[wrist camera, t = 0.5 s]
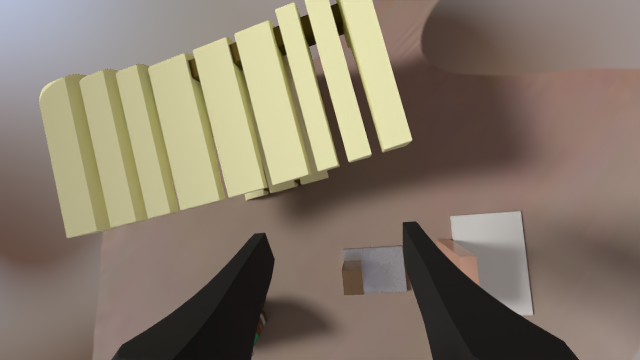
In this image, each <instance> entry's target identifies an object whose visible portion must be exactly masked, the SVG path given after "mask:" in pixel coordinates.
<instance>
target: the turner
mask: <svg viewBox="0 0 640 360" xmlns="http://www.w3.org/2000/svg"><path fill="white" fill-rule="evenodd" d="M343 255H344V263H343V268H342V277H343V287H344V295H360V294H364V293H374V292H407V286H406V277H405V268H404V258H403V249H402V245H398V246H381V247H363V248H346V249H343Z"/></svg>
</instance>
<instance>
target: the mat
mask: <svg viewBox="0 0 640 360" xmlns="http://www.w3.org/2000/svg"><path fill="white" fill-rule="evenodd" d="M450 219H451V228H452V237H453V241H454V242H455V243H457V244H458V245H460V246H461V247H463V248H465V249H466V250H468V251H469V252H471V253H472V254H474V255H475V256H476V258H477V267H478V275H479V284H480V287H481V288H482V289H484V290H485V291H486V292H488V293H489V294H490V295H492V296H493V297H494V298H496V299H497V300H499V301H500V302H501V303H503V304H504V305H506V306H507V307H508V308H510V309H511V310H513V311H514V312H516V313H517V314H519V315H533V310H532V301H531V293H530V285H529V276H528V268H527V260H526V251H525V243H524V235H523V226H522V218H521V211H514V212H500V213H486V214H473V215H459V216H450Z"/></svg>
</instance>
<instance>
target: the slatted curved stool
mask: <svg viewBox="0 0 640 360" xmlns="http://www.w3.org/2000/svg"><path fill="white" fill-rule="evenodd" d="M305 3H306V7H307V11H308V15H306V16H303V17H300V14H299V11H298V9H297V6H296V4H295V2H293V3H291V4H288V5H286V6H283V7H280V8H278V9H276V10H275V11H276V15H277V19H278V23H279V26H277V27H275V26H274V24H273V23H272V22H271V21H270V20H268V21H265V22H263V23H260V24H258V25H255V26H252V27H250V28H247V29H245V30H242V31H240V32H237V33H235V34H234V35H235V39H236V42H235V43H234V42H233V41H232V40H231V39H230V38H227V37H225V38H222V39H220V40H217V41H215V42H212V43H210V44H207V45H205V46H202V47H199V48H197V49H194V50H193V53H194V56H192V55H191V54H188V53H183V54H181V55H178V56H176V57H173V58H170V59H168V60H165V61H163V62H160V63H158V64H155V65H152V66H150V67H149V66H147V65H144V64H136V65H134V66H131V67H129V68H126V69H124V70H121V71H117V70H113V69H105V70H101V71H99V72H96V73H94V74H91V75H89V76H86V75H80V74H73V75H68V76H65V77H63V78H61V79H58V80H55V81H53V82H51V83H49V84H47V85H46V86H45V87H44V88H43V89H42V91H41V93H40V98H39V101H40V109H41V114H42V119H43V124H44V128H45V133H46V138H47V143H48V148H49V153H50V158H51V163H52V167H53V172H54V177H55V182H56V187H57V191H58V196H59V201H60V206H61V211H62V216H63V220H64V226H65V230H66V235H67V238H70V237H76V236H81V235H86V234H92V233H97V232H101V231H105V230H109V229H112V228H116V227H117V226H123V225H128V224H133V223H137V222H140V221H144V220H148V218H154V217H160V216H165V215H169V214H172V213H176V212H179V208H178V203H177V198H176V194H175V189H174V183H175V188H176V192H177V196H178V201H179V205H180V209H181V210H185V209H192V208H196V207H200V206H204V205H207V204H211V203H214V202H218V201H221V200H225V194H224V190H223V186H222V181H221V177H220V172H219V167H218V162H217V157H216V152H215V146H214V140H213V135H214V139H215V143H216V148H217V152H218V156H219V160H220V164H221V168H222V172H223V176H224V180H225V184H226V189H227V193H228V197H229V198H230V197H236V196H239V195H243V194H245V198H246V200H250V199H253V198H257V197H261V196H264V195H268V194H269V193H268V191H269V190H270V193H275V192H279V191H282V190H286V189H290V188H293V187H297V186H298V182H301V185H304V184H308V183H312V182H315V181H319V180H323V179H326V178H329V177H328V173H327V170H329V169H333V168H337V167H340V165H339V161H338V158H337V154H336V150H335V147H334V143H333V139H332V135H331V132H330V128H329V124H328V120H327V117H326V113H325V109H324V105H323V101H322V97H321V93H320V89H319V85H318V81H317V77H316V72H315V67H314V63H313V60H312V56H311V52H310V48H309V46H312V45H315V44H317V48H318V51H319V55H320V59H321V62H322V66H323V70H324V73H325V77H326V81H327V84H328V88H329V92H330V95H331V99H332V103H333V106H334V110H335V114H336V117H337V121H338V125H339V128H340V132H341V136H342V139H343V143H344V147H345V150H346V154H347V158H348V161H349V163H351V162H355V161H358V160H362V159H365V158H369V157H371V150H370V146H369V143H368V139H367V136H366V132H365V129H364V125H363V121H362V118H361V114H360V111H359V107H358V103H357V100H356V96H355V93H354V89H353V85H352V82H351V78H350V75H349V71H348V68H347V64H346V60H345V57H344V53H343V50H342V46H341V42H340V39H339V36H340V35H343V34H344V35H345V39H346V42H347V46H348V48H351V50H352V53H353V56H354V59H355V62H356V65H357V68H358V71H359V74H360V77H361V81H362V84H363V87H364V91H365V94H366V98H367V101H368V104H369V108H370V111H371V115H372V118H373V122H374V125H375V129H376V132H377V136H378V139H379V143H380V146H381V150H382V153H383V152H386V151H390V150H394V149H397V148H401V147H404V146H406V145H407V144H409V143H410V142H411V141H412V137H411V134H410V130H409V127H408V123H407V120H406V116H405V113H404V110H403V106H402V103H401V99H400V96H399V92H398V89H397V85H396V82H395V78H394V75H393V71H392V68H391V65H390V61H389V58H388V54H387V51H386V47H385V44H384V40H383V37H382V33H381V30H380V26H379V23H378V20H377V16H376V13H375V9H374V6H373V2H372V0H336V4H334V5H332V6H330V3H329V0H305ZM288 60H289V61H288ZM289 64H290V65H289ZM212 131H213V132H212ZM262 164H263V166H262ZM263 168H264V170H263ZM171 170H172V172H171ZM264 171H265V174H264ZM172 175H173V178H172ZM265 175H266V178H265ZM173 179H174V183H173ZM266 179H267V180H266Z"/></svg>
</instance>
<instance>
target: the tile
mask: <svg viewBox="0 0 640 360" xmlns="http://www.w3.org/2000/svg"><path fill="white" fill-rule="evenodd" d="M437 247H438V248H439V249H440V250H441V251H442V252H443V253H444V254H445V255H446V256H447V257H448V258H449V259H450V260H451V261H452V262H453V263H454V264H455V265H456V266H457V267H458V268H459V269H460V270H461V271H462V272H463V273H464V274H466V275H467V276H468V277H469V278H470V279H471V280H473V281H474V282H475V283H476V284H477V285H479V286H480V284H479V275H478V267H477V258H476V256H475V255H474V254H472V253H471V252H469V251H468V250H466V249H465V248H463V247H461V246H460V245H458V244H457V243H455V242H454V241H452V240H450V239H437Z"/></svg>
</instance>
